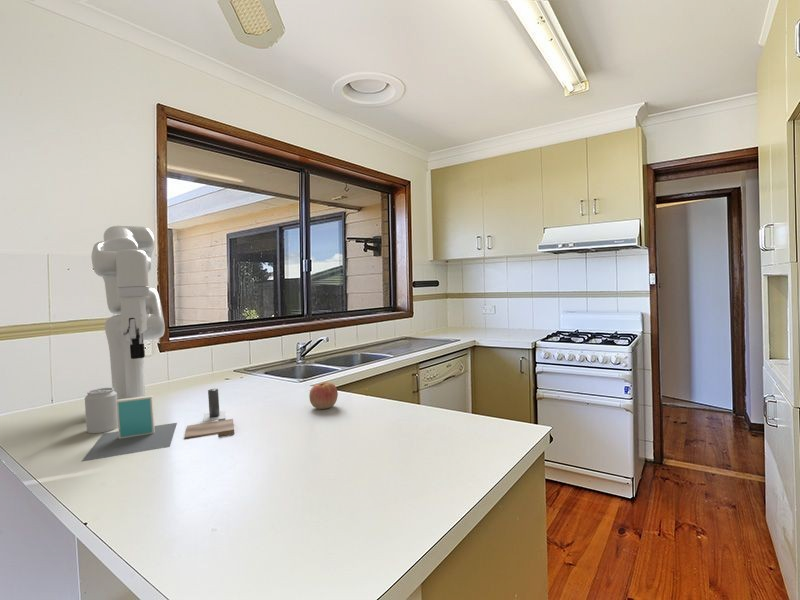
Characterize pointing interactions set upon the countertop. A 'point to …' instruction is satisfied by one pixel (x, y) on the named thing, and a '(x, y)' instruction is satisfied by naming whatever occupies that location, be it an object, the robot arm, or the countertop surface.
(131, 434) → the tile
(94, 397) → the can
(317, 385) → the apple
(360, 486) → the countertop surface
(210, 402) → the grey post stand
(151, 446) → the mat
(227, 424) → the plate
